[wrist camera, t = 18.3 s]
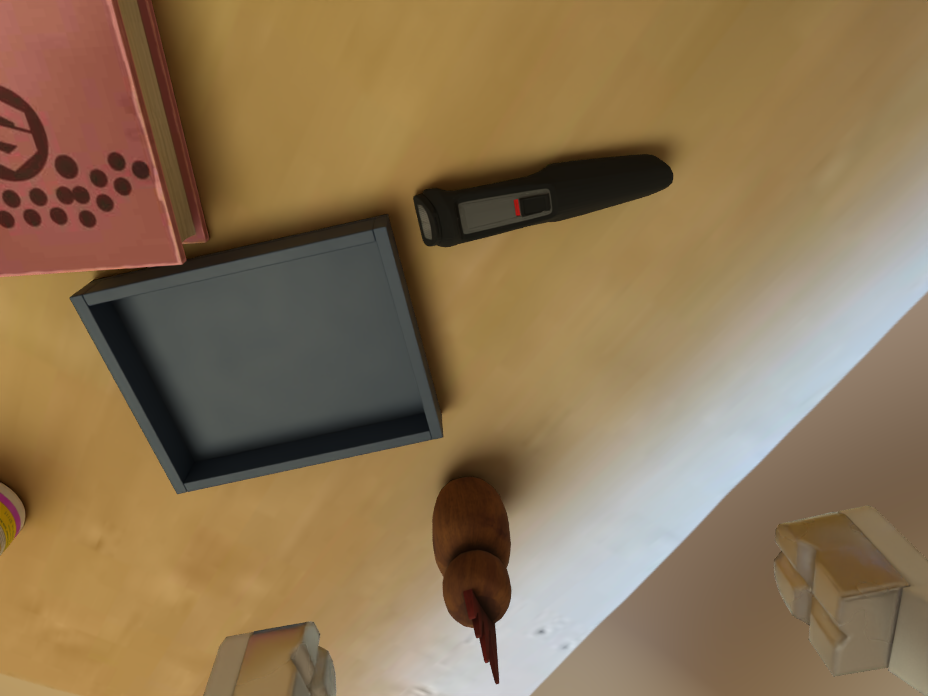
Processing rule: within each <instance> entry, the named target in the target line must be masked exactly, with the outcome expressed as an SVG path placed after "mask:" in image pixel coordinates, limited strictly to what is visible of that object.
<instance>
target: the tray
mask: <svg viewBox="0 0 928 696" xmlns="http://www.w3.org/2000/svg"><path fill="white" fill-rule="evenodd" d="M186 260H187V261H186V262H184V263H183V264H182V265H168V266H155V267H150V268H146V269H141V270H137V271H132V272H128V273H124V274H119V275H115V276H110V277H106V278H101V279H97V280H93V281H91V282H90V283H89V284H87V285H86V286H85V287H83V288H82V289H81V290H79V291H78V292H76V293H75V294H74V295H72V296H71V297H70V300H71V302H72V303H73V305H74V307H75V309H76V311H77V312H78V314H79V316H80V318H81V320H82V322H83V323H84V325H85V327H86V329H87V331H88V333H89V334H90V336H91V338H92V340H93V342H94V343H95V345H96V347H97V349H98V351H99V353H100V354H101V356H102V358H103V360H104V362H105V364H106V365H107V367H108V369H109V371H110V373H111V374H112V376H113V378H114V380H115V382H116V384H117V385H118V387H119V389H120V391H121V393H122V395H123V396H124V398H125V400H126V402H127V404H128V405H129V407H130V409H131V411H132V413H133V415H134V416H135V418H136V420H137V422H138V424H139V425H140V427H141V429H142V431H143V433H144V435H145V436H146V438H147V440H148V442H149V444H150V446H151V447H152V449H153V451H154V453H155V455H156V456H157V458H158V460H159V462H160V464H161V466H162V467H163V469H164V471H165V473H166V475H167V477H168V478H169V480H170V482H171V484H172V486H173V487H174V489H175V491H176V493H177V494H180V493H185V492H190V491H194V490H199V489H204V488H208V487H213V486H218V485H222V484H227V483H232V482H236V481H241V480H246V479H250V478H255V477H260V476H264V475H269V474H274V473H278V472H283V471H288V470H292V469H297V468H302V467H306V466H311V465H316V464H320V463H325V462H330V461H335V460H339V459H344V458H349V457H353V456H358V455H363V454H367V453H372V452H377V451H381V450H386V449H391V448H395V447H400V446H405V445H409V444H414V443H419V442H423V441H428V440H432V439H438V438H442V437H443V427H442V414H441V410H440V407H439V403H438V399H437V395H436V392H435V388H434V384H433V380H432V377H431V373H430V369H429V365H428V362H427V358H426V354H425V351H424V347H423V343H422V339H421V336H420V332H419V328H418V324H417V321H416V317H415V313H414V309H413V306H412V302H411V298H410V294H409V291H408V287H407V283H406V280H405V276H404V272H403V268H402V265H401V261H400V257H399V253H398V250H397V246H396V242H395V238H394V235H393V231H392V227H391V224H390V220H389V216H388V214H385V215H381V216H376V217H372V218H367V219H363V220H359V221H354V222H350V223H345V224H341V225H336V226H332V227H328V228H323V229H319V230H314V231H310V232H305V233H301V234H297V235H292V236H288V237H283V238H279V239H274V240H270V241H265V242H261V243H257V244H252V245H248V246H243V247H239V248H234V249H230V250H226V251H221V252H217V253H212V254H208V255H203V256H199V257H195V258H190V259H186Z"/></svg>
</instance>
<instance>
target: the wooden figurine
mask: <svg viewBox="0 0 928 696" xmlns="http://www.w3.org/2000/svg"><path fill="white" fill-rule="evenodd" d="M433 548H434V554H435V559H436V563H437V565H438V567H439V570H440V571H441V573H442V575H443V577H444V578H443V597H444V601H445V604H446V607H447V609H448V612H449V613H450V615H451V616H452V617H453V618H454V619H455V620H456V621H457V622H459V623H460V624H462V625H463V626H466V627H471V628H474V631H475V636H476V638H479V639H480V644H481V648H482V653H483V657H484V661H485V663H488V662H490V665H491V669H492V673H493V677H494V681H495V683H496V684H499V672H498V658H497V643H496V631H495V623H496V622H497V621H499V620H500V619H501V618H502V617H503V616H504V614H505V613H506V611H507V609H508V607H509V604H510V600H511V584H510V579H509V575H508V571H507V569H506V568H507V566H508V563H509V557H510V548H511V541H510V531H509V522H508V517H507V513H506V510H505V508H504V505H503V502H502V500H501V498H500V496H499V494H498V493H497V491H496V490H495V489H494V488H493V487H492V486H491V485H490V484H488V483H487V482H485V481H484V480H482V479H479V478H475V477H461V478H458V479H455V480H452V481H450V482H449V483H448V484H447V485H446V486H445V487H443V489H442V490H441V491H440V493H439V495H438V497H437V500H436V504H435V507H434V512H433Z"/></svg>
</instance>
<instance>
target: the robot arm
mask: <svg viewBox="0 0 928 696" xmlns="http://www.w3.org/2000/svg"><path fill="white" fill-rule="evenodd" d="M775 542H776V543H777V545H778V546H779V547H780V549H781V550H782V551H781V552H780V553H779V555H778V556H777V557H776V558H775V559H774V575H775V579H776V582H777V586H778V590H779V592H780V594H781V596H782V598H783V600H784V602H785V604H786V606H787V607H788V608H789V610H790V612H791V613H792V615H793V616H794V617H796V618H797V619H799V620H801V621H803V622H804V623H806V624H808V625H810V630H809V641H810V642H811V644H812V645H813V647H814V648H815V650H816V651H817V653H818V654H819V656H820V657H821V659H822V660H823V661H824V663H825V664H826V666H827V667H828V669H829V670H830V672H831V673H832V675H833V676H834V677H835V676H840V675H846V674H852V673H858V672H864V671H870V670H876V669H881V668H888V667H889V668H888V671H890V672H891V673H893V674H894V675H895V676H897V677H899V678H900V679H901V680H903V681H904V682H906V683H907V684H909V685H910V686H912V687H913V688H915V689H916V690H918V691H919V692H920V693H922V694H923V695H925V696H928V560H927V559H926V558H925V557H924V556H923V555H922V554H921V553H920V552H919V551H918V550H917V549H916V548H915V547H914V546H913V545H912V544H911V543H910V542H909V541H908V540H907V539H906V538H905V537H904V536H903V535H902V534H901V533H900V532H899V531H898V530H897V529H896V528H895V527H894V526H893V525H892V524H891V523H890V522H889V521H888V520H887V519H886V518H884V517H883V515H882V514H881V513H879V512H878V510H876V509H875V508H873V507H871V506H869V505H867V506H862V507H858V508H853V509H848V510H843V511H839V512H837V513H836V512H832V513H828V514H823V515H819V516H814V517H809V518H805V519H800V520H796V521H791V522H787V523H782V524H779V525H778V527H777V528H776V531H775ZM319 638H320V633H319V631H318V629H317V627H316V625H315V624H314V622H304V623H299V624H293V625H287V626H282V627H276V628H271V629H265V630H259V631H254V632H250V633H245V634H239V635H234V636H229V637H226V638H225V640H224V641H223V642H222V644H221V645H220V647H219V649H218V652H217V655H216V658H215V662H214V665H213V668H212V671H211V674H210V677H209V680H208V683H207V686H206V689H205V692H204V695H203V696H336V677H335V670H334V666H333V662H332V659H331V657H330V654H329V652H328V651H327V650H325V649H324V648H322V647H320V646H318V644H319Z"/></svg>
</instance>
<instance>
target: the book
mask: <svg viewBox="0 0 928 696" xmlns="http://www.w3.org/2000/svg"><path fill="white" fill-rule="evenodd" d="M208 240H209V235H208V231H207V227H206V223H205V219H204V215H203V211H202V207H201V203H200V198H199V194H198V190H197V186H196V182H195V178H194V174H193V170H192V166H191V161H190V157H189V153H188V149H187V145H186V141H185V137H184V133H183V129H182V124H181V120H180V116H179V112H178V108H177V104H176V100H175V96H174V92H173V87H172V83H171V79H170V75H169V71H168V67H167V63H166V59H165V55H164V51H163V46H162V42H161V38H160V34H159V30H158V26H157V22H156V18H155V14H154V9H153V5H152V1H151V0H0V277H6V276H21V275H36V274H50V273H65V272H80V271H95V270H109V269H124V268H139V267H154V266H168V265H182V264H183V263H184V262H186V261H187V260H186V256H185V252H184V249H183V245H182V244H189V243H204V242H207V241H208Z"/></svg>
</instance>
